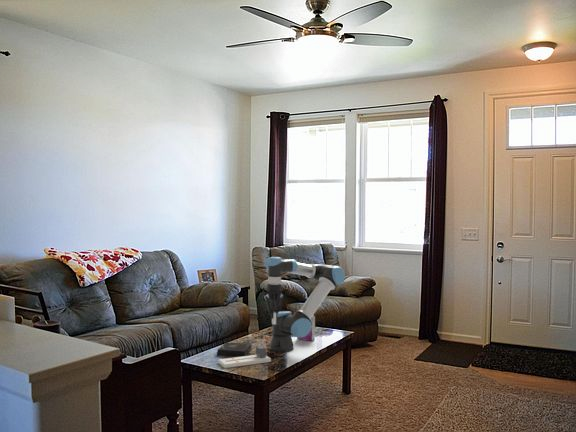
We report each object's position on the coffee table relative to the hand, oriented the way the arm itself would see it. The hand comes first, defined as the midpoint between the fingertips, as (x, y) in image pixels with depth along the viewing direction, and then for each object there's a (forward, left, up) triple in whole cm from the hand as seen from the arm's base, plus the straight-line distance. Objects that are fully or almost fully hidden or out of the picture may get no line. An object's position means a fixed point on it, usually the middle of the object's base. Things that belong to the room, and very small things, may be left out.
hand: (273, 323), depth 300 cm
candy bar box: (-39, -30, -21) cm, 53 cm away
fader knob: (+8, 0, -18) cm, 20 cm away
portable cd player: (+16, -21, -21) cm, 34 cm away
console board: (+18, 0, -20) cm, 27 cm away
